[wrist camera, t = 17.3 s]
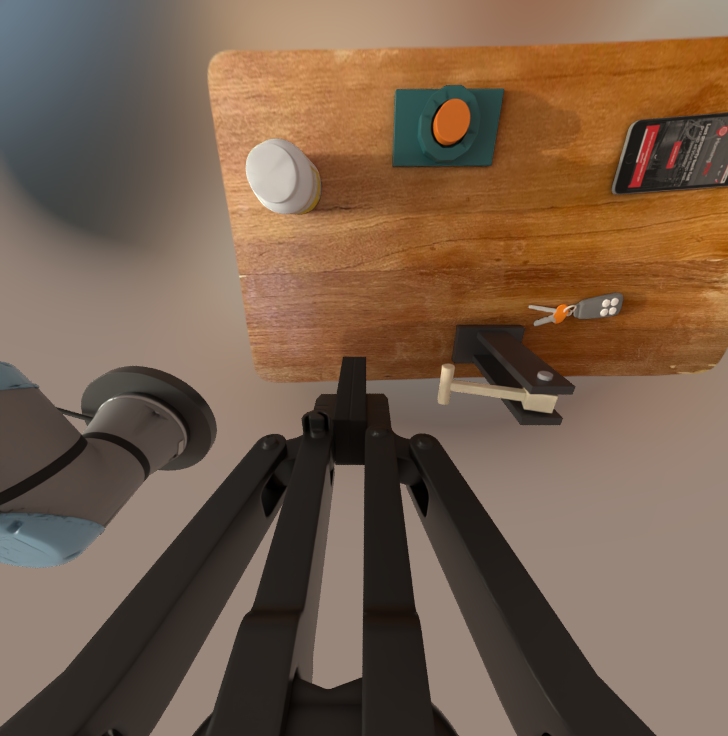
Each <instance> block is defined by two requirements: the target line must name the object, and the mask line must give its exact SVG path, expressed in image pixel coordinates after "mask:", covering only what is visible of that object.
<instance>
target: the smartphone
mask: <svg viewBox="0 0 728 736" xmlns="http://www.w3.org/2000/svg"><path fill="white" fill-rule="evenodd" d="M725 186H728V113H716V114H704V115H692V116H680V117H668V118H656V119H644V120H638V121H636V122H634V123H633V124H632V125H631V126H630V127H629V130H628V133H627V137H626V140H625V144H624V147H623V151H622V154H621V158H620V161H619V165H618V168H617V172H616V175H615V179H614V182H613V186H612V193H613V194H615V195H618V194H632V193H645V192H658V191H672V190H685V189H698V188H712V187H725Z"/></svg>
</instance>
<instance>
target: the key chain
mask: <svg viewBox="0 0 728 736" xmlns="http://www.w3.org/2000/svg"><path fill="white" fill-rule="evenodd" d="M622 302H623V296H622V294H621V293H611V294H606V295H602V296H598V297H593V298H589V299H585V300H582V301H580V303H579V304H576V305H571V306H567V305H565V304H562V305H560V306H559V307H558V308H557V309H554V308H547V307H543V306H533V305H530V306H529V308H532V309H536V310H542V311H545V312H553V313H554V314H553V315H550V316H548V318H547V317H543V319H540V320H536V321H535V322H534V326H538V325H541V324H545V323H548V322H551V321H552V322H554V324H557V323H560V322H562V321H563V320H564V319H565V317H566V316H570V315H571V314H572V312H574V314H573V315H574V317H578V318H579V319H591V318H601V317H610V316H615V315H617V314H618V313H619V312H620V310H621V307H622ZM571 307H575V308H574V309H573V310H570V309H569V308H571ZM569 310H570V311H571V312H568V311H569ZM568 314H569V315H568Z"/></svg>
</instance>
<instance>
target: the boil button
mask: <svg viewBox="0 0 728 736" xmlns="http://www.w3.org/2000/svg"><path fill="white" fill-rule="evenodd" d="M469 124H470V111H469V108H468V106H467V104H466V103H465V102H464V101H462V100H460V99H451V100H449V101H447V102H446V103H444V104H443V106H442V107H441V108H440V110H439V111H438V113H437V114H436V116H435V119H434V123H433V132H434V136H435V138H436V140H437V141H438V142H439V143H441V144H443V145H452V144H454V143H456V142H457V141H458V140H459V139H461V138H462V137H463V136H464V134H465V133H466V131H467V129H468V127H469Z"/></svg>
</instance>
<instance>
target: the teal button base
mask: <svg viewBox="0 0 728 736" xmlns="http://www.w3.org/2000/svg"><path fill="white" fill-rule="evenodd" d="M503 93H504V89H466V88H465V87H464V86H462V85H446V86H444V87H443V88H441V89H396V91H395V112H394V140H393V167H440V166H491V165H492V159H493V153H494V147H495V141H496V135H497V129H498V123H499V117H500V111H501V105H502V99H503ZM451 99H460V100H462V101H464V102H465V103H466V104H467V106H468V108H469V111H470V124H469V127H468V129H467V131H466V133H465V134H464V136H463V137H462V138H461V139H459V140H458V141H457V142H456V143H454V144H452V145H443V144H441V143H439V142H438V141H437V140H436V138H435V136H434V132H433V123H434V119H435V116H436V114H437V113H438V111H439V110H440V108H441V107H442V106H443V104H444V103H446V102H447V101H449V100H451Z"/></svg>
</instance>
